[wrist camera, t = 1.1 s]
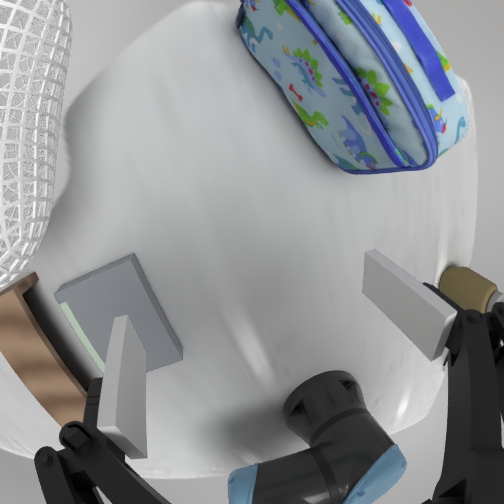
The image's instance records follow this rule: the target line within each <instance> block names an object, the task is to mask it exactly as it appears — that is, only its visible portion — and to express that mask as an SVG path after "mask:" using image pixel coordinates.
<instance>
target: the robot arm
mask: <svg viewBox="0 0 504 504" xmlns="http://www.w3.org/2000/svg"><path fill="white" fill-rule="evenodd" d="M363 293H364V294H365V295H366V296H367V297H368V298H369V299H370V300H371V301H372V302H373V303H374V304H375V305H376V306H377V307H378V308H379V309H380V310H381V311H382V312H383V313H384V314H385V315H386V316H387V317H388V318H389V319H390V320H391V321H392V322H393V323H394V324H395V325H396V326H397V327H398V328H399V329H400V330H401V331H402V332H403V333H404V334H405V335H406V336H407V337H408V338H409V339H410V340H411V341H412V342H413V343H414V344H415V345H416V346H417V347H418V348H419V349H420V351H421V352H422V353H423V354H424V355H425V356H426V357H427V358H428V359H429V360H430V361H433V360H435V359H436V358H438V357H439V356H441V355H442V353H443V350H444V348H445V346H446V347H447V348H448V349H449V351H448V353H447V356H446V358H445V361H444V363H443V366H445V365H446V362H447V361H448V417H447V432H446V443H445V452H444V460H443V468H442V474H441V477H440V480H439V481H438V483H437V485H436V487H435V490H434V494H433V498H432V500H430V499H428V500H427V501H425V502H423V503H422V504H504V448H503V447H502V441H501V440H502V439H501V437H502V436H501V415H502V419H503V422H504V345H503V347H502V346H501V344H500V342H501V340H502V341H503V343H504V302H496V303H494V305H493V307H492V309H491V311H490V312H486V313H481V312H480V311H478V310H475V309H467V310H464V309H463V308H461V307H460V306H459V305H458V304H456V303H455V302H454V301H453V300H451V299H450V298H449V297H448V296H446V295H445V294H444V293H442V292H440V290H438V289H437V288H436V287H435V286H433V285H430V284H428V283H425V282H424V283H421V282H420V281H418V280H417V279H416V278H414V277H413V276H412V275H410V274H409V273H408V272H406V271H405V270H404V269H402V268H401V267H399V266H398V265H397V264H395V263H394V262H393V261H391V260H390V259H388V258H387V257H386V256H384V255H383V254H381V253H380V252H379V251H377V250H376V249H374V250H371V251H368V252H365V261H364V279H363ZM500 412H501V413H500ZM283 413H284V418H285V420H286V422H287V424H288V426H289V428H290V429H291V430H292V431H293V432H294V433H295V434H297V435H298V436H299V437H300V438H301V439H302V440H304V441H305V442H306V443H307V444H308V445H309V446H310V448H309V449H306V450H303V451H300V452H297V453H294V454H291V455H287V456H284V457H281V458H277V459H274V460H270V461H266V462H263V463H255V465H251V466H248V467H244V468H240V469H237V470H235V471H233V472H232V473H231V474H230V476H229V479H228V498H229V504H371V503H372V502H374V501H375V500H377V499H378V498H379V497H381V496H382V495H383V494H385V493H386V492H387V491H388V490H389V489H390V488H391V487H393V486H394V485H395V483H397V481H398V480H399V479H400V478H401V477H402V475H403V474H404V472H405V470H406V466H407V462H406V459H405V457H404V456H403V454H402V453H401V451H400V450H399V448H398V445H397V444H395V443H394V442H393V441H392V439H391V438H390V437H389V436H388V435H387V433H386V432H385V431H384V430H383V429H382V427H381V426H380V425H379V424H378V422H377V421H376V420H375V419H374V418H373V416H372V415H371V414H370V413H369V411H368V410H367V408H366V405H365V401H364V398H363V394H362V391H361V388H360V386H359V384H358V382H357V381H356V380H355V379H354V378H353V376H352V375H350V374H349V373H346V372H343V371H331V372H326V373H323V374H320V375H317V376H315V377H313V378H311V379H309V380H308V381H306V382H305V383H303V384H302V385H300V386H299V387H298V388H297V389H296V390H295V391H294V392H293V393H292V394H291V395H290V397H289V398H288V400H287V402H286V404H285V406H284V412H283ZM59 440H60V443H61V445H63V446H64V447H65V449H63V450H60V451H55V450H54V449H53V448H52V447H48V446H45V447H42V448H40V449H39V450H38V451H37V453H36V454H35V458H34V461H35V467H36V471H37V474H38V478H39V482H40V485H41V488H42V491H43V494H44V497H45V500H46V503H47V504H104V502H103V501H102V499H101V497H100V495H99V493H98V491H97V489H96V487H97V486H98V488H99V489H100V490H101V491H102V492H103V494H104V495H105V496H106V497H107V498H108V499H109V500H110V502H111V503H112V504H171V503H170V502H169V501H167V500H166V499H165V498H164V497H163V496H161V495H160V494H159V493H158V492H157V491H156V490H155V489H153V488H152V487H151V486H150V485H149V484H148V483H147V482H146V481H145V480H144V479H142V478H141V477H140V476H139V475H138V474H137V473H136V472H135V471H134V470H133V469H132V468H131V467H130V466H129V465H128V464H127V463H126V462H125V454H126V455H127V456H128V457H129V458H130V459H143V458H148V456H147V437H146V351H145V349H144V347H143V345H142V343H141V341H140V339H139V337H138V335H137V333H136V331H135V329H134V327H133V325H132V323H131V321H130V318H129V316H128V315H124V316H120V317H115V318H114V322H113V327H112V332H111V337H110V342H109V347H108V352H107V357H106V363H105V369H104V375H103V377H102V378H95V379H93V380H92V382H91V384H90V386H89V387H88V392H87V399H86V406H85V410H84V417H83V423H82V422H80V421H70V422H68V423H67V424H65V425H64V426H63V427H62V429H61V431H60V433H59Z"/></svg>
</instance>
